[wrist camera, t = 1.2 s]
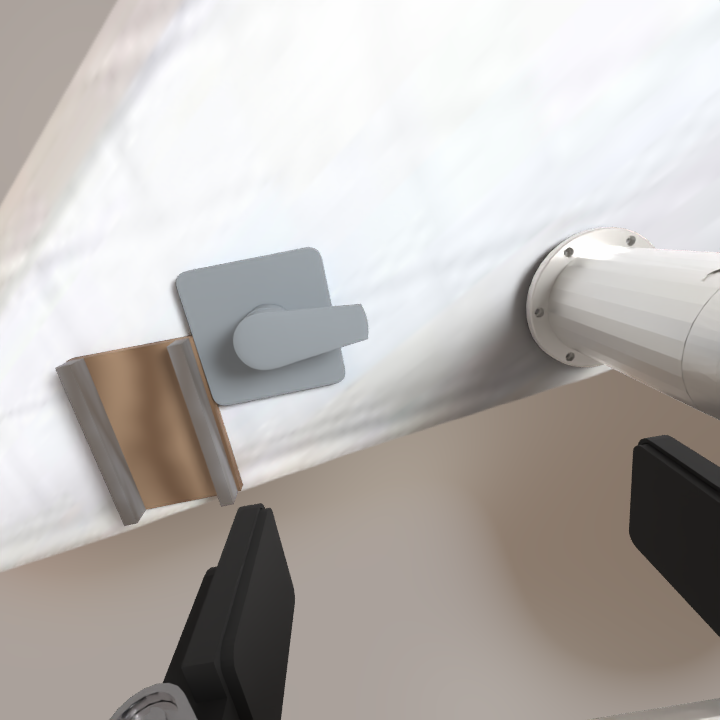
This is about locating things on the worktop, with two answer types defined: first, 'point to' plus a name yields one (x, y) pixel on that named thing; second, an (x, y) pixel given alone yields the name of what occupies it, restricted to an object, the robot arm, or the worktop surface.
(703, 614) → the robot arm
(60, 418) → the worktop surface
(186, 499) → the stand
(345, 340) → the shower valve
